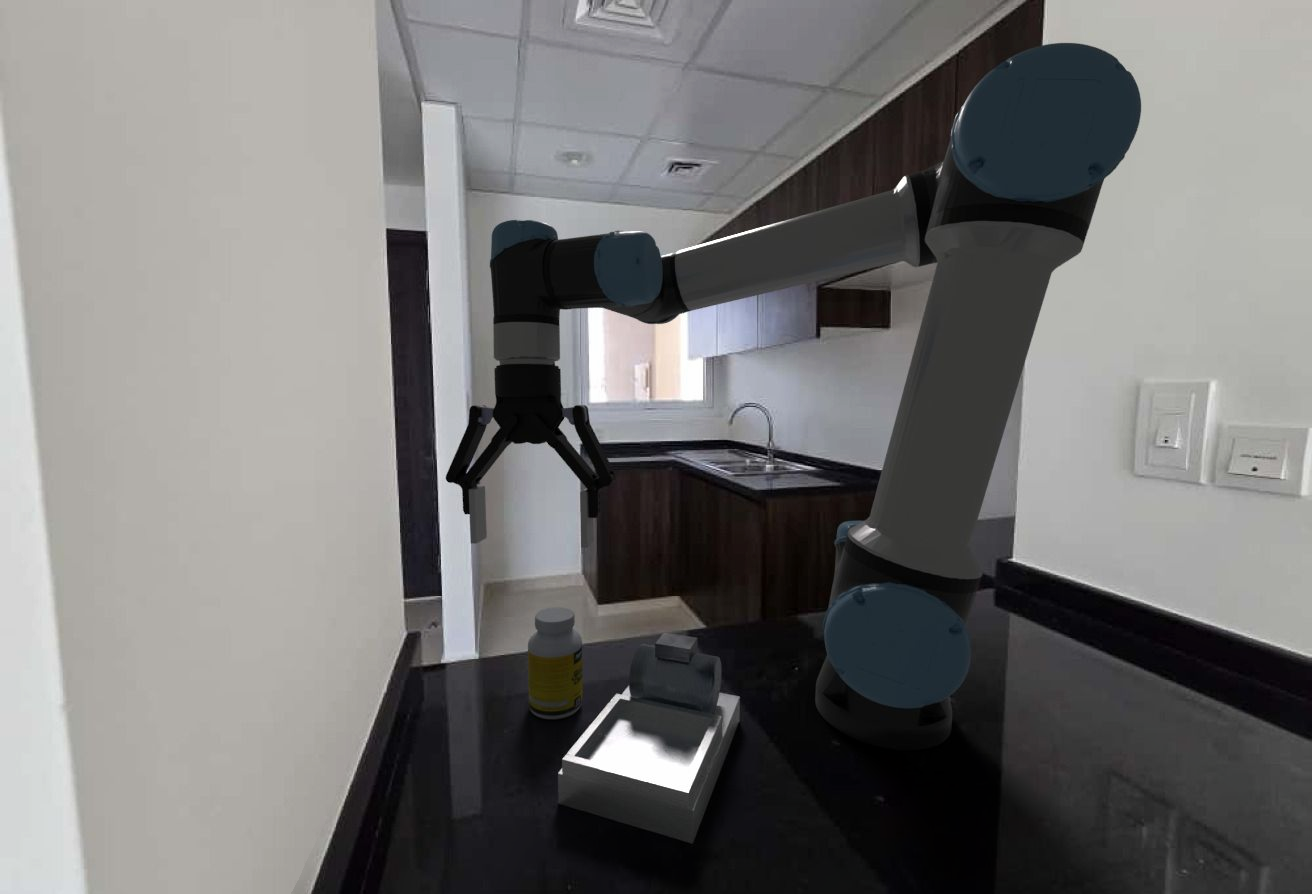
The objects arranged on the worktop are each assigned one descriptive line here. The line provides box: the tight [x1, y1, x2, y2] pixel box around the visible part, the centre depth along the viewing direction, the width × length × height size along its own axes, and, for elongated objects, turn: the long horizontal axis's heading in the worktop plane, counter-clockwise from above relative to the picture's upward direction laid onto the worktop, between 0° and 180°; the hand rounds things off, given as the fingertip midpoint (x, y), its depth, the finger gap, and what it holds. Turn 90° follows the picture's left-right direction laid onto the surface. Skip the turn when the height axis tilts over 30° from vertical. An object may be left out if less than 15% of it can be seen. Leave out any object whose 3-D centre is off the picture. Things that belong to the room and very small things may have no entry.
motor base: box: [557, 632, 741, 844], centre depth 58 cm, size 19×13×10 cm
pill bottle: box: [527, 606, 584, 720], centre depth 67 cm, size 6×6×12 cm
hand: (532, 542), depth 67 cm, fingers open, 13 cm apart
